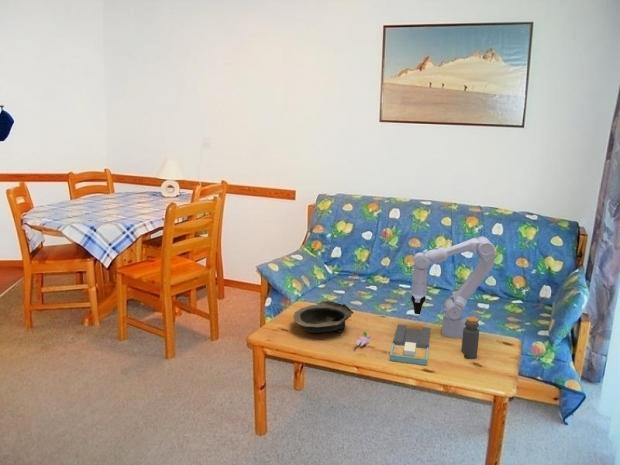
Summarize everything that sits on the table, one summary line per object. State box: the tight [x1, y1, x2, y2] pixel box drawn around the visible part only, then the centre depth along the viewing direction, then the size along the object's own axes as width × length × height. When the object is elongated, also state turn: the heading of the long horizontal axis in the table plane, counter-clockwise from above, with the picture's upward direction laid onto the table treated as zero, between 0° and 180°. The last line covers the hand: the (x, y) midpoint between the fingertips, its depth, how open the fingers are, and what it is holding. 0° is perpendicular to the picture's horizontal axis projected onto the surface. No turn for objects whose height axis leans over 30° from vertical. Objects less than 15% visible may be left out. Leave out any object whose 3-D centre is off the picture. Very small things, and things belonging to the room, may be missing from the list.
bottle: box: [461, 316, 480, 360], centre depth 208 cm, size 6×6×15 cm
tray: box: [389, 343, 430, 367], centre depth 207 cm, size 14×12×2 cm
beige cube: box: [403, 346, 417, 357], centre depth 205 cm, size 4×4×4 cm
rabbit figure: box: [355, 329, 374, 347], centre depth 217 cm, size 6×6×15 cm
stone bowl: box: [292, 300, 354, 334], centre depth 231 cm, size 25×25×9 cm
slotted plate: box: [392, 323, 432, 350], centre depth 221 cm, size 14×18×3 cm
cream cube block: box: [404, 342, 416, 352], centre depth 208 cm, size 4×4×4 cm
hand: (417, 313), depth 226 cm, fingers closed
